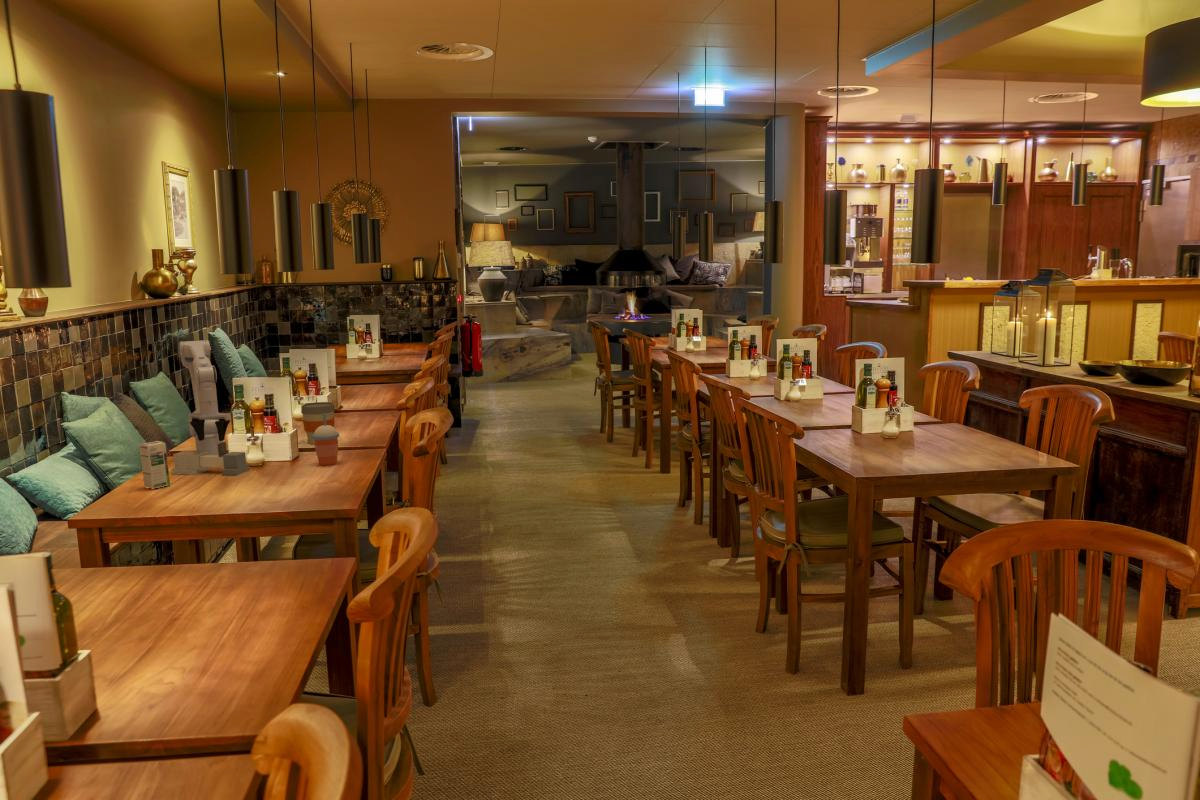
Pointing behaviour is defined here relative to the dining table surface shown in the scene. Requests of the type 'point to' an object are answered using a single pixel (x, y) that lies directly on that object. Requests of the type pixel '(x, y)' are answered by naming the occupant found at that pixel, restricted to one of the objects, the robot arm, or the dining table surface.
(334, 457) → the cup with straw
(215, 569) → the dining table surface
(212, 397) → the robot arm
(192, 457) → the beige stepped block
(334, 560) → the dining table surface
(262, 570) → the dining table surface
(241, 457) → the slate stepped block
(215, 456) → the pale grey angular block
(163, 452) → the syrup box
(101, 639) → the dining table surface
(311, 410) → the reusable coffee cup
